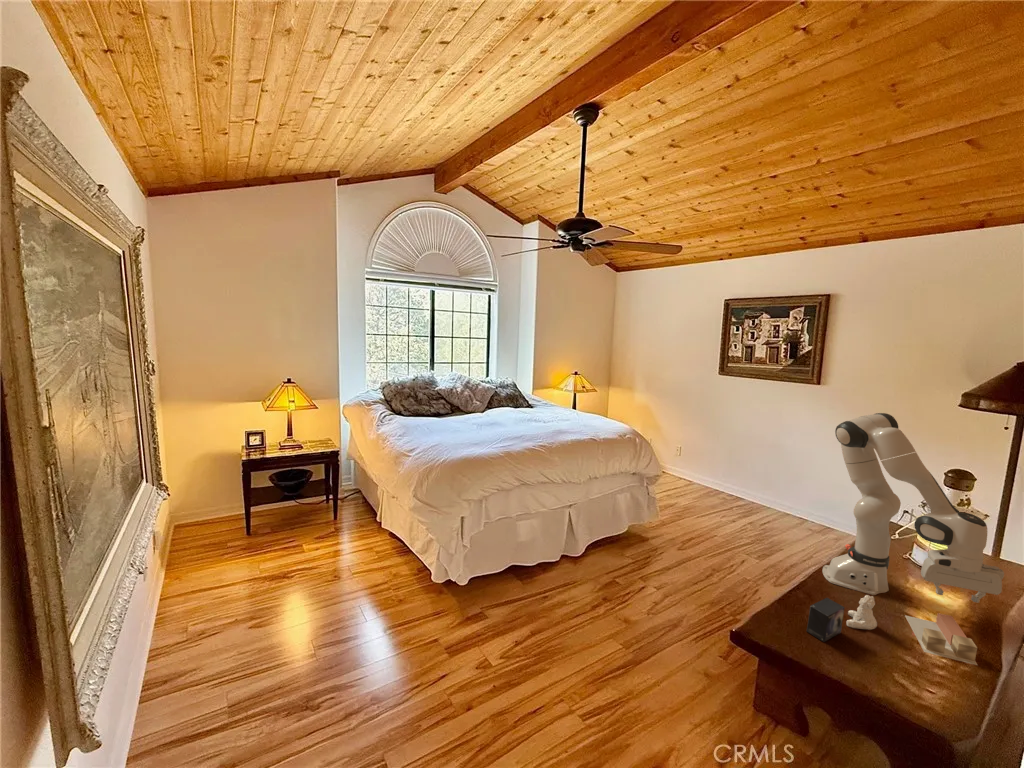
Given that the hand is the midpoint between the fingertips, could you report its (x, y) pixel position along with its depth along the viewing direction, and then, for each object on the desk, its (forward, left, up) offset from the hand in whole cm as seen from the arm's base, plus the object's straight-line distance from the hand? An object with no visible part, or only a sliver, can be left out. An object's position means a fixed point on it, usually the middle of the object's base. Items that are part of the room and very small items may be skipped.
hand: (956, 597), depth 159 cm
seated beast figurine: (-26, -6, -15) cm, 31 cm away
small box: (-39, -17, -15) cm, 46 cm away
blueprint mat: (-4, -4, -15) cm, 16 cm away
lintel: (0, 0, -15) cm, 15 cm away
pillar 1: (-8, -10, -15) cm, 19 cm away
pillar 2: (0, -10, -15) cm, 18 cm away
